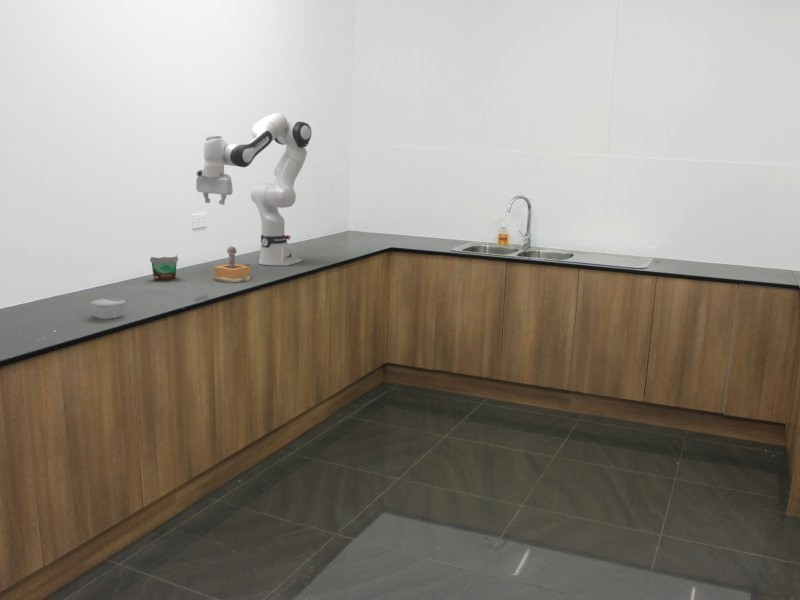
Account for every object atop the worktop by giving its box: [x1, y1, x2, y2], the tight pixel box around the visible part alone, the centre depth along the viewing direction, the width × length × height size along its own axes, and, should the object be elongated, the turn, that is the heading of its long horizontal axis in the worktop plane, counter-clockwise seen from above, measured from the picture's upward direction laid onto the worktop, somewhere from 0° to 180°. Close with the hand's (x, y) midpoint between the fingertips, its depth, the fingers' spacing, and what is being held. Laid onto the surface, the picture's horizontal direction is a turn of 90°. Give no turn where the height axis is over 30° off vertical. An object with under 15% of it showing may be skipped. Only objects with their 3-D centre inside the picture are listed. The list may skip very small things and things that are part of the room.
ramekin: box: [90, 298, 126, 320], centre depth 271 cm, size 11×11×5 cm
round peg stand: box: [213, 245, 252, 284], centre depth 342 cm, size 16×16×14 cm
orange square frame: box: [213, 263, 251, 279], centre depth 345 cm, size 15×11×4 cm
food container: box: [149, 254, 179, 282], centre depth 337 cm, size 12×6×10 cm, turn 130°
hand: (214, 203), depth 355 cm, fingers open, 8 cm apart
